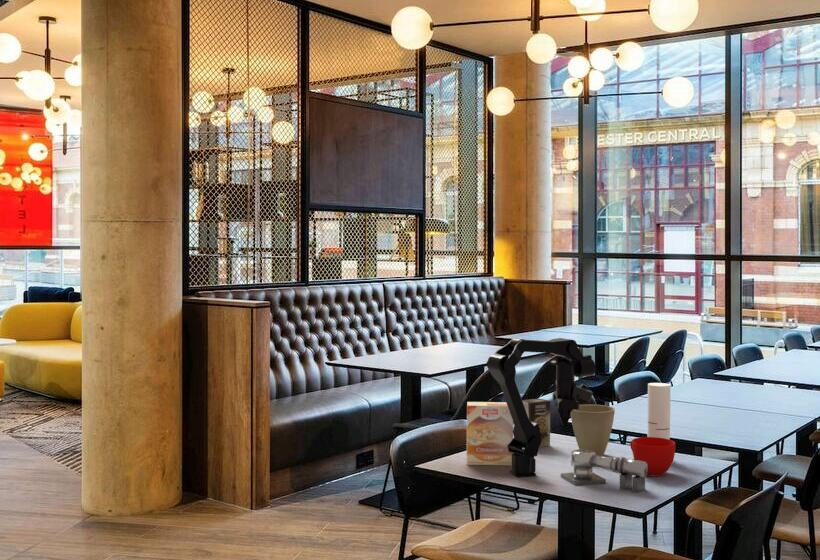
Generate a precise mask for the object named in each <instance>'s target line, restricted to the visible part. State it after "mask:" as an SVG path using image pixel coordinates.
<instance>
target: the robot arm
mask: <svg viewBox="0 0 820 560" xmlns="http://www.w3.org/2000/svg"><path fill="white" fill-rule="evenodd" d="M524 353H539V354H540V353H541V354H542V353H543V354H552V355H554V356H555V357H554V358H553V359H552V360H551V361H550V364H551V365H555V366H556V369H555V370H556V373H555V374H556V377H555V378H556V380H555V387H556V388H555V391H553V392H552V398H551V399H552V400H553V401H557V402H556V403H555V402H554V406H555V409H556V410H557V413H558V416H559V418H560V422H561V424H562V427H563V428H567V427H568V424H569V420H570V418H571V411H572V410H578V409H579V405H580V403H579V401H577V398H578V399H581V400H583V401H585V402H587V403H590V402H591V401H592V400H591V399H592V397H593V394H594V393H593V391H591V390H590V389H588V385H586V384H583V383H582V384H580V385H577V383H576V382H575V377H576V378H579V377H580V378H581V377H583V378H584V377H590V376H591V377H593V376H594V374H595V373H596V371H597V366H596V362H595V361H594V360H593V356H592V355H591V354H583V353H582V351H581V350H580V348H579V345H578V344H577V341H576V340H575V339H571V338H570V339H568V338H563V337H558V338H551V339H549V340H539V339H538V340H537V339H536V340H535V339H521V338H517V337H515V338H512V339H511V340H509V341H508V343H507V344H505V345H503V346H502V347H500V348H498V349H497V350H496V351H495V352H494V353H493V354H491V355H490V356H489V357H488V359H487V361H486V366H487V370H488V371H489V373H490V374H491V376H492V377H493V379H494V380H496V382H497V383H498V384H499V386H500V389H501V391H502V395H503V397H504V401H505V402H506V403H507V406H508V408H509V411H510V414H511V416H512V419H513V439H512V441H511V442H510V443H509V445H508V446H507V447H508V450H509V452H511V453H512V466H511V469H510V470H509V473H511V474H512V475H513V476H515V477H533V476H534V477H535V476H537V473H536V458H535V457H537V456H538V454H539V450H540V448H541V447H540V445H541V442H542V438H541V436H542V434H541V432H540V429H539V425H538V424H537V423H533V422H530V420H529V418H528V415H527V412H526V410H525V407H524V404H523V401H522V400H523V399H522V396H521V394H520V391H519V388H518V386H517V382H516V375H517V370H516V366H517V364H519V363H520V361H521V359H522V356H523V354H524ZM561 357H562V358H561Z"/></svg>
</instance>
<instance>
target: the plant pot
mask: <svg viewBox="0 0 820 560" xmlns="http://www.w3.org/2000/svg"><path fill="white" fill-rule="evenodd" d="M615 411H616V407H613V406H608V405H602V404H579V409H578V410H572V411H571V413H570V418H571V424H572V430H573V433H574V437H575V440H576V444H577V446H578V450H579V449H583V450H591V451H594V452H595V455H599V456H604V455H605V453H606V450H607V447H608V444H609V441H610V437H611V433H612V429H613V425H614V419H615V418H614V417H615Z"/></svg>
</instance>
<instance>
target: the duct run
mask: <svg viewBox="0 0 820 560" xmlns="http://www.w3.org/2000/svg"><path fill="white" fill-rule="evenodd" d="M618 458H619V459H618V461H617V472H618V473H617V474H619V490H621V491H622V490H623V491H627V490H628V489H630V488H632V490H631V492H632V493H637V494H638V493H640V492H642V491H644V490H645V489H646V476H647V475H646V474H647V471H648V465H647V463H646V462H644V461H638V460H634V459H632V458H626V457H623V456H620V457H618Z"/></svg>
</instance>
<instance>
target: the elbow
mask: <svg viewBox="0 0 820 560" xmlns="http://www.w3.org/2000/svg"><path fill="white" fill-rule="evenodd" d="M619 458H620V457H617V456H614V457H611V456H610V457H609V456H606V455H605V456H604V455H603V456H599V455H595V452H594V451H591V450H583V449H579V448H578V449H573V450H570V466H572V467H573V468H574V467H576V468H596V469H602V470H608V471H611V472H612V473H617V474H619V473H618V472H617V461H618V459H619Z"/></svg>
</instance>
